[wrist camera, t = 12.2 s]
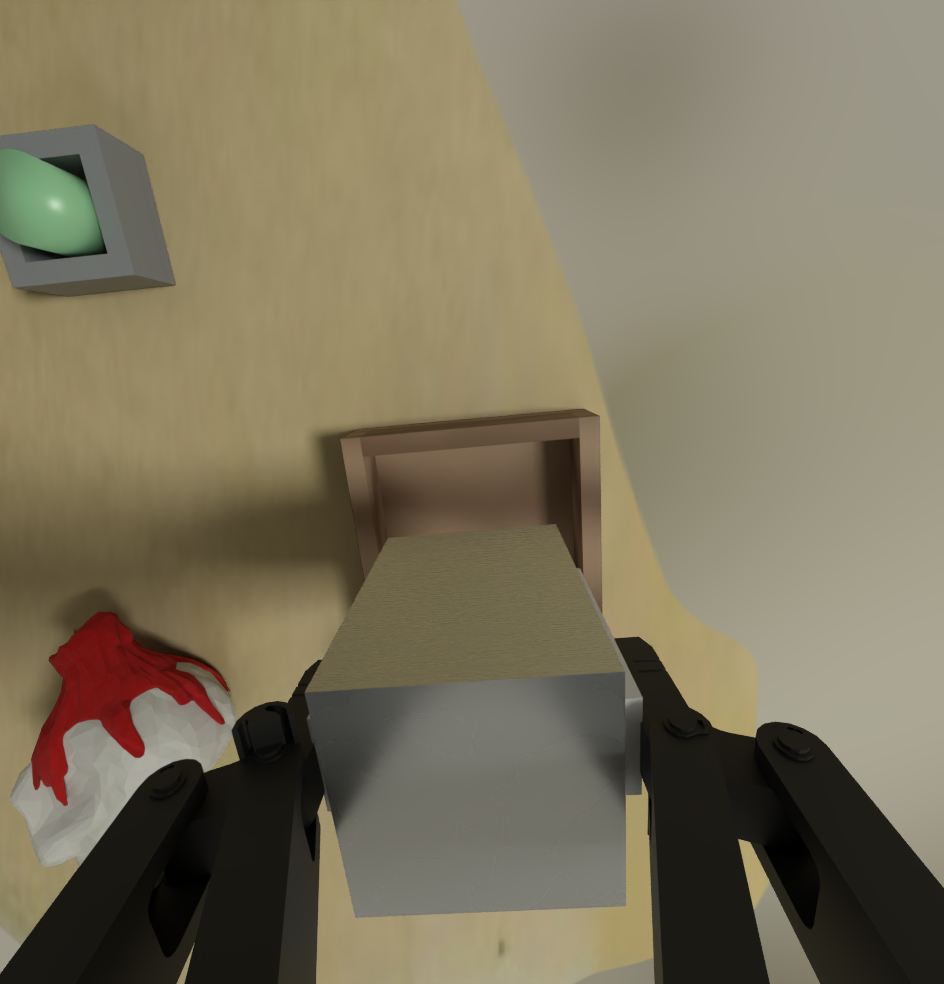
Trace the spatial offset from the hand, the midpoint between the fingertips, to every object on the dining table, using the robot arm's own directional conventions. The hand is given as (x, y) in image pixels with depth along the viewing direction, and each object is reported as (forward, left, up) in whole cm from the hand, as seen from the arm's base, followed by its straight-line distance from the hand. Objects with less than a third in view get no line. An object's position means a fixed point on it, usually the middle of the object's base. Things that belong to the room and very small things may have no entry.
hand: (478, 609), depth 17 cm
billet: (0, 0, 0) cm, 0 cm away
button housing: (-17, -18, -11) cm, 27 cm away
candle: (+11, -22, -12) cm, 27 cm away
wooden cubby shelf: (+5, 0, -11) cm, 12 cm away
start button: (-17, -18, -10) cm, 27 cm away
